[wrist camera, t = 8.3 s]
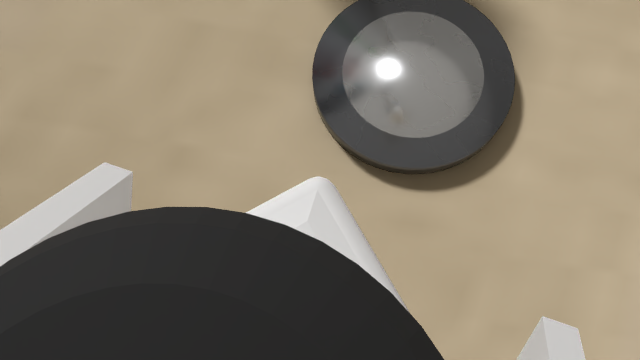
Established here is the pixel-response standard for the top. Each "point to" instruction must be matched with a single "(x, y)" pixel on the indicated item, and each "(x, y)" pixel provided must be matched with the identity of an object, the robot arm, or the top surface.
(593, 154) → the top surface
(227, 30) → the top surface
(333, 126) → the pad
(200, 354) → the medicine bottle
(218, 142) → the top surface
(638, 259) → the top surface
